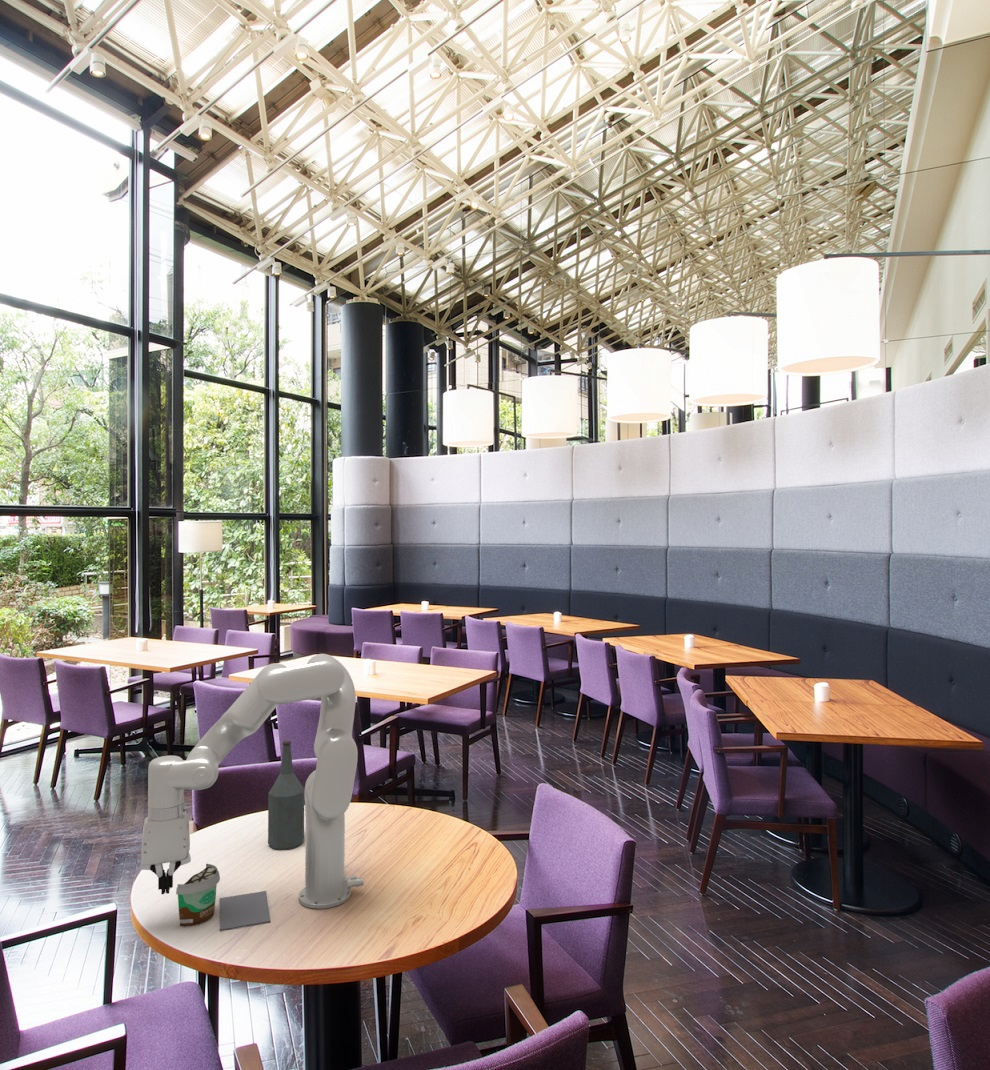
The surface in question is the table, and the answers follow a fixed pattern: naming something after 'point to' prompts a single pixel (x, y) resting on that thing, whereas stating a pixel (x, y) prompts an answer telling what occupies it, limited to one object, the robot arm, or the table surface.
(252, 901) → the mat
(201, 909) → the food container
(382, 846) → the table surface
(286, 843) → the bottle
